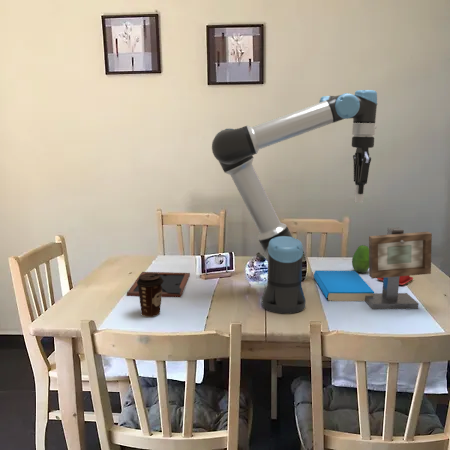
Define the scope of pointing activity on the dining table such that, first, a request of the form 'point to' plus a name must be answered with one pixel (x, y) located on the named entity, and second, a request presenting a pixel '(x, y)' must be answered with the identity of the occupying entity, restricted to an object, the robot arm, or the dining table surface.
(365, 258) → the avocado
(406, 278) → the butter dish
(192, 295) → the dining table surface
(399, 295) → the frame stand
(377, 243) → the picture frame
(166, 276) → the picture frame
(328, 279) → the book
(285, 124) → the robot arm
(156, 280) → the coffee cup
